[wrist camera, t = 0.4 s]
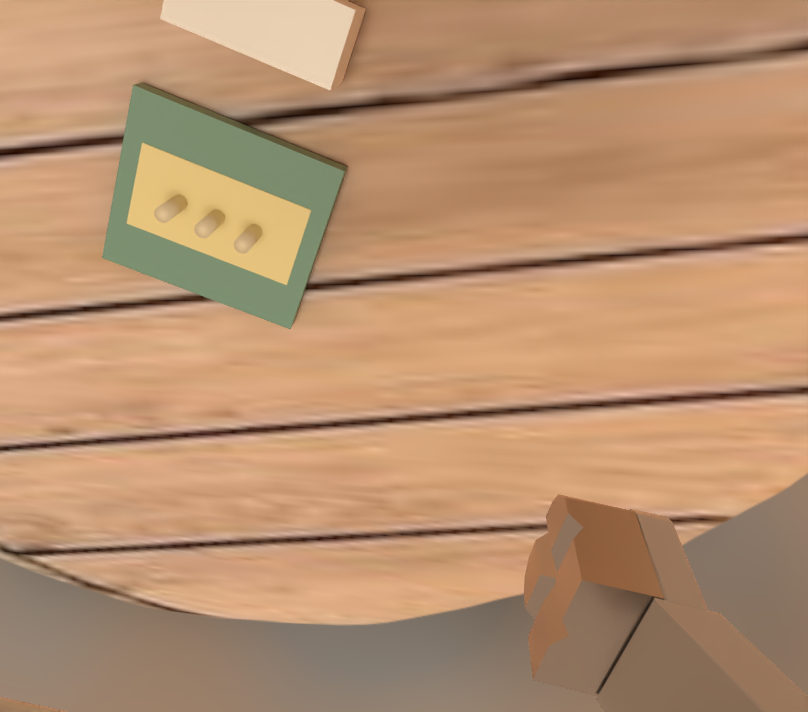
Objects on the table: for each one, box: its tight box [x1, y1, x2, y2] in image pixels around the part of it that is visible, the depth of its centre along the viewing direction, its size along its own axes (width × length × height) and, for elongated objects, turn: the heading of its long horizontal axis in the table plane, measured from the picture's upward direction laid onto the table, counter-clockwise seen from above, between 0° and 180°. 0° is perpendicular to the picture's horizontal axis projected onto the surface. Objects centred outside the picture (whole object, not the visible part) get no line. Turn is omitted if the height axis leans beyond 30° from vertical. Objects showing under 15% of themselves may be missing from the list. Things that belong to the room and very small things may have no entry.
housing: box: [160, 0, 366, 90], centre depth 44 cm, size 5×11×5 cm, turn 69°
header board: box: [102, 83, 347, 329], centre depth 51 cm, size 14×16×5 cm
